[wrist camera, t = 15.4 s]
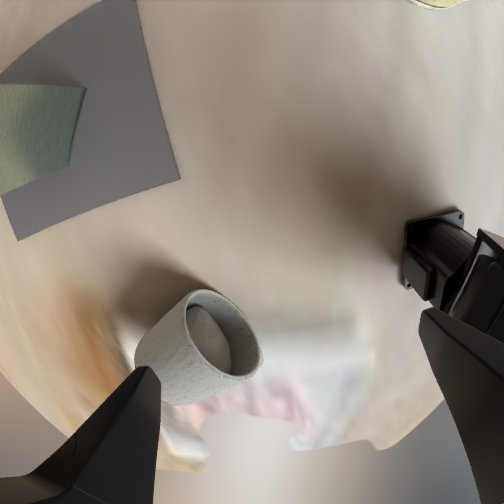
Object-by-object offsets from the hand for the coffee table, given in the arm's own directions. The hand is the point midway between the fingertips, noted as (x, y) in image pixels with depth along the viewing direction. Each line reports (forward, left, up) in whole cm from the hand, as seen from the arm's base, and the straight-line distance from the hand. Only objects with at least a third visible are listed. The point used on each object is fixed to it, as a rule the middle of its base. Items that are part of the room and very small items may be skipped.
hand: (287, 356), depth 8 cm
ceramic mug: (+7, +10, -13) cm, 18 cm away
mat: (+14, -12, -13) cm, 23 cm away
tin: (+14, -12, -12) cm, 22 cm away
